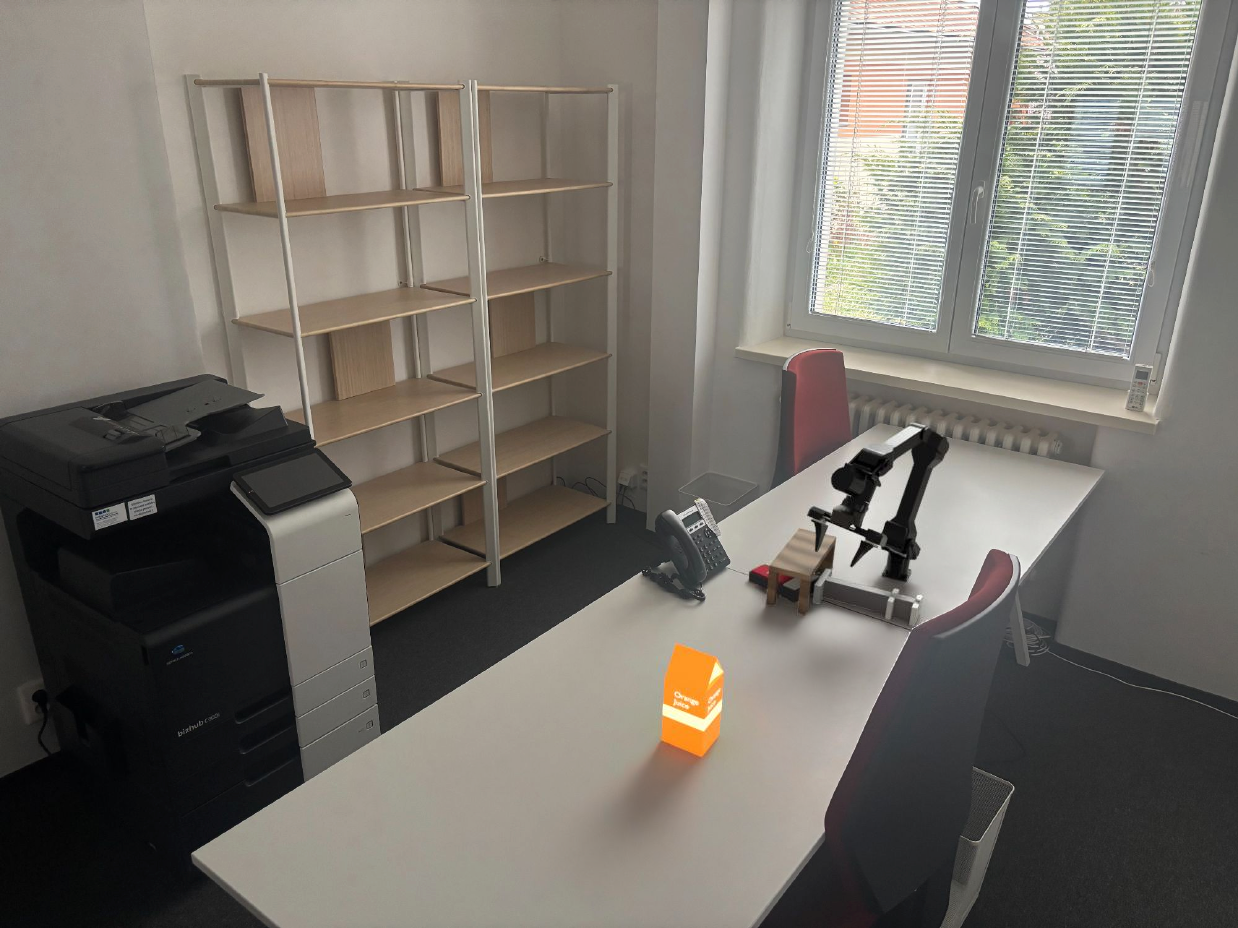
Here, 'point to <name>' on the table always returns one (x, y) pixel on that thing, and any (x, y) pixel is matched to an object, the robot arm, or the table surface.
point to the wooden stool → (800, 565)
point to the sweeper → (867, 597)
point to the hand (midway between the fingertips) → (833, 559)
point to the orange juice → (692, 700)
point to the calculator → (780, 582)
